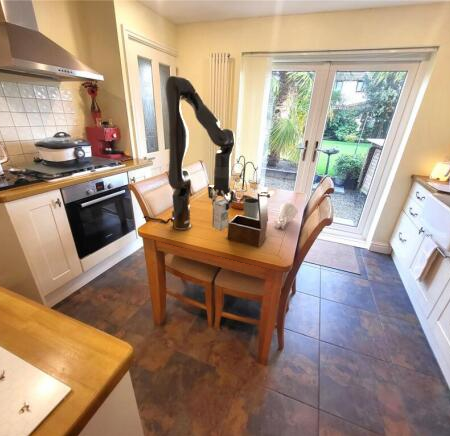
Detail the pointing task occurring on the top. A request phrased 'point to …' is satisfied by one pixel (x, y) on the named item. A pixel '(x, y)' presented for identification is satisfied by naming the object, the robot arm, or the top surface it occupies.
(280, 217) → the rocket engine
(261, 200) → the case lid
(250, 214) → the grey cup
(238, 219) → the case
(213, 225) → the syrup box
